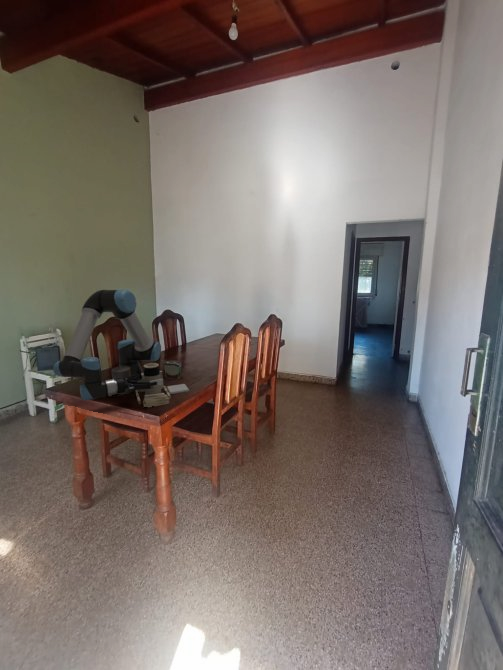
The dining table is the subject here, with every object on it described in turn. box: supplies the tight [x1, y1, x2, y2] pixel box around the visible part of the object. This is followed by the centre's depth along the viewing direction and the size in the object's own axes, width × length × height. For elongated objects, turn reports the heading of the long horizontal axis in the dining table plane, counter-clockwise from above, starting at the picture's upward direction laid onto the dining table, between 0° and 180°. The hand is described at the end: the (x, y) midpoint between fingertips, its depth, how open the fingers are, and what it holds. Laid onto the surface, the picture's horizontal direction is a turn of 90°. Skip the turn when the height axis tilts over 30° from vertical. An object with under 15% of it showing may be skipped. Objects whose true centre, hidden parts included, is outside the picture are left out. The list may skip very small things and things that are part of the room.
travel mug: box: [143, 362, 162, 396], centre depth 175 cm, size 8×8×18 cm
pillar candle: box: [110, 366, 134, 395], centre depth 184 cm, size 10×10×15 cm
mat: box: [166, 383, 190, 395], centre depth 188 cm, size 10×10×1 cm
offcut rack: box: [134, 370, 172, 408], centre depth 177 cm, size 26×16×10 cm, turn 24°
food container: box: [163, 360, 183, 381], centre depth 208 cm, size 12×6×10 cm, turn 65°
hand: (158, 377), depth 176 cm, fingers open, 13 cm apart
